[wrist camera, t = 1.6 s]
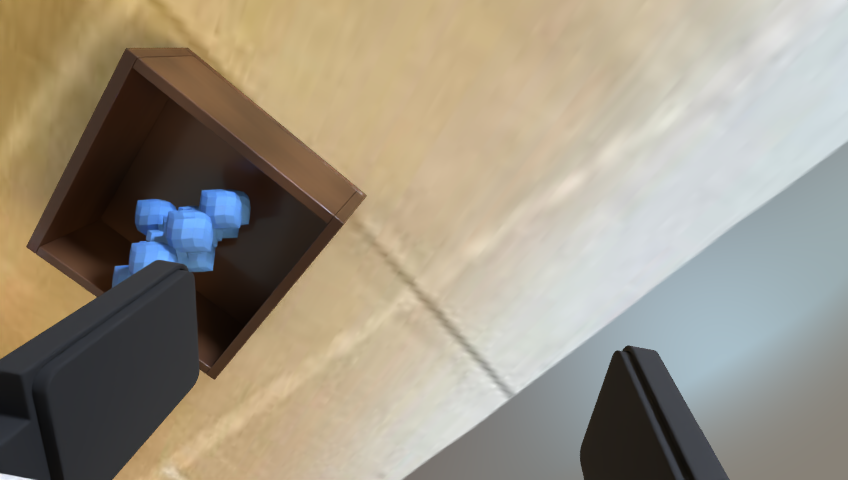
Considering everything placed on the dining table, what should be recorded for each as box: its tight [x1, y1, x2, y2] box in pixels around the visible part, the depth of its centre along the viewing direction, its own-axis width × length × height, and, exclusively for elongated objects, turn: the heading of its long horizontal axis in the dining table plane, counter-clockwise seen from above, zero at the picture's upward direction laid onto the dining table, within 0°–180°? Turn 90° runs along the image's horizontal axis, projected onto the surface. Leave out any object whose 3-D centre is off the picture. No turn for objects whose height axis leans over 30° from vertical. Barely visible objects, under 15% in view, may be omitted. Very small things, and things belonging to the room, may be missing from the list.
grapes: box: [112, 189, 251, 288], centre depth 33 cm, size 12×7×12 cm, turn 131°
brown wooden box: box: [26, 48, 366, 380], centre depth 36 cm, size 17×18×6 cm
